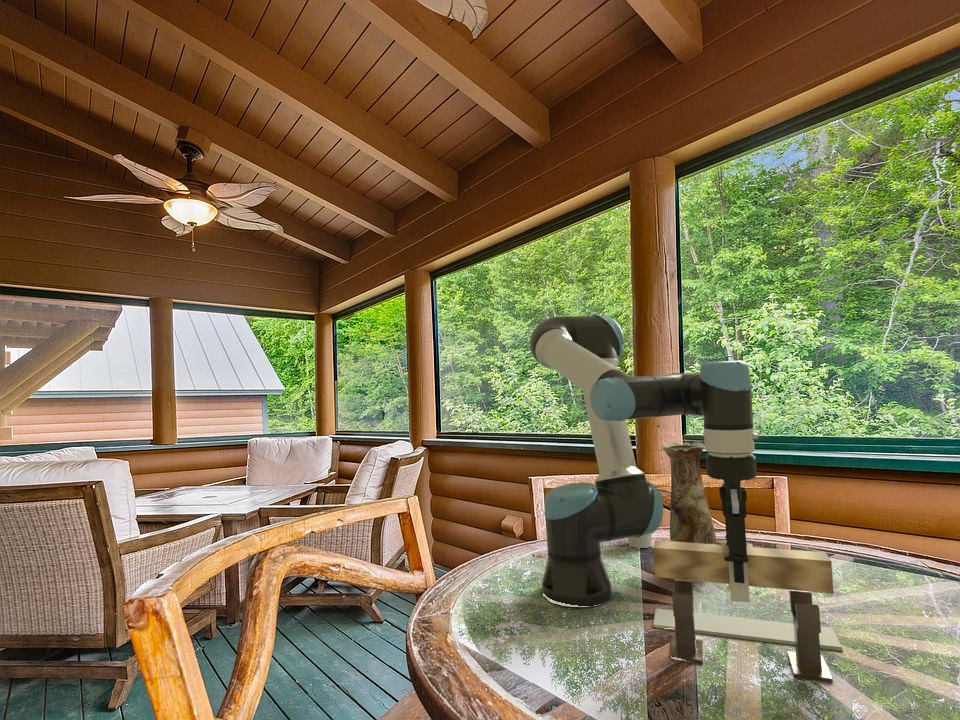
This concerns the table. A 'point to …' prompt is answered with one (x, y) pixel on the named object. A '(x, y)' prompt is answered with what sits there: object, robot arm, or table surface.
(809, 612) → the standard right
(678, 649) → the standard left
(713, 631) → the cream flat board
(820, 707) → the table surface
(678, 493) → the vase
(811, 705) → the table surface
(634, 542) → the cup
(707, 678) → the table surface
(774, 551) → the rail
